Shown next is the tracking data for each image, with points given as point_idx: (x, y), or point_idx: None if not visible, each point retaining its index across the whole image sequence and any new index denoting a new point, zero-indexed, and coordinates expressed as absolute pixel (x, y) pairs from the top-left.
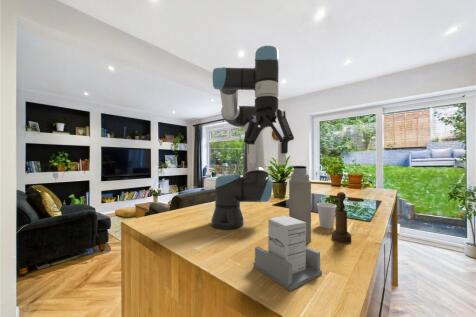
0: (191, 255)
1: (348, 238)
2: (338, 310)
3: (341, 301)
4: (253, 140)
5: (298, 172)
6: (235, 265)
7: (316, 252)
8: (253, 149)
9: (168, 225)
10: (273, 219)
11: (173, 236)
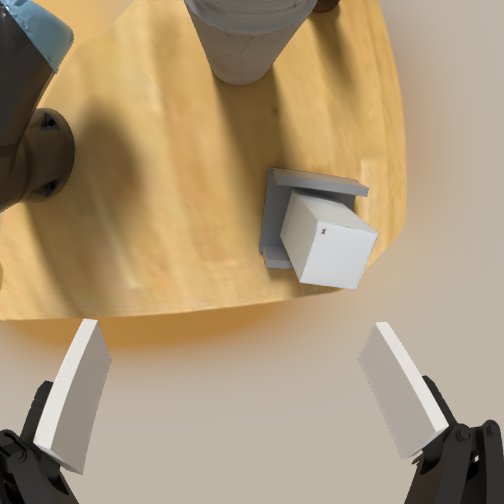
0: (156, 304)
1: (338, 2)
2: (390, 241)
3: (390, 223)
4: (62, 494)
5: None
6: (233, 269)
7: (364, 194)
8: (74, 422)
9: (12, 273)
10: (313, 279)
11: (65, 291)
